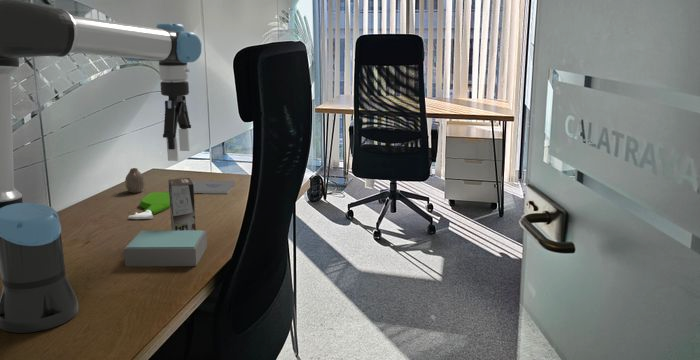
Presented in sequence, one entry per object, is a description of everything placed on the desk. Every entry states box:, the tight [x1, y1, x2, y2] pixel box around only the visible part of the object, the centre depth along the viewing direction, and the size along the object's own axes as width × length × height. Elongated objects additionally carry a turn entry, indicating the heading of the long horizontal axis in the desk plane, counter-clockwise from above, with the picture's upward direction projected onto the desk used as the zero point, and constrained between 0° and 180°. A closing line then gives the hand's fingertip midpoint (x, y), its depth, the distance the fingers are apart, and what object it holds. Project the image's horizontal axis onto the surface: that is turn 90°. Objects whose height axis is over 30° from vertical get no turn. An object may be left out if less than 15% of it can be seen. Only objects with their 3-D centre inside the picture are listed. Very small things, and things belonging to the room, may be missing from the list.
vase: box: [124, 167, 146, 194], centre depth 220 cm, size 7×7×9 cm
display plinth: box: [123, 229, 208, 267], centre depth 158 cm, size 14×18×5 cm
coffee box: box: [167, 177, 197, 231], centre depth 174 cm, size 9×6×16 cm
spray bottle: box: [128, 191, 170, 220], centre depth 200 cm, size 3×11×24 cm
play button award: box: [190, 179, 237, 195], centre depth 227 cm, size 16×2×20 cm
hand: (179, 155), depth 170 cm, fingers open, 13 cm apart
